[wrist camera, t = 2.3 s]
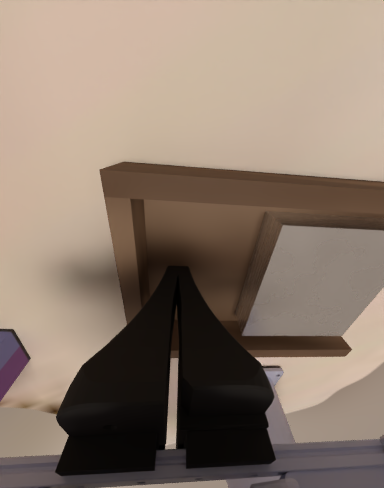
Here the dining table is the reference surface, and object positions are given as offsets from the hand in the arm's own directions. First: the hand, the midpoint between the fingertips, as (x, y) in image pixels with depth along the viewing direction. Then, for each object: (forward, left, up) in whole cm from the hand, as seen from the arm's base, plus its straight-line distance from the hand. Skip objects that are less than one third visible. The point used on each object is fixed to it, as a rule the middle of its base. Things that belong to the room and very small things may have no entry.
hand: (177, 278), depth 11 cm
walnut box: (0, -5, -1) cm, 6 cm away
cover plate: (0, -9, -1) cm, 9 cm away
